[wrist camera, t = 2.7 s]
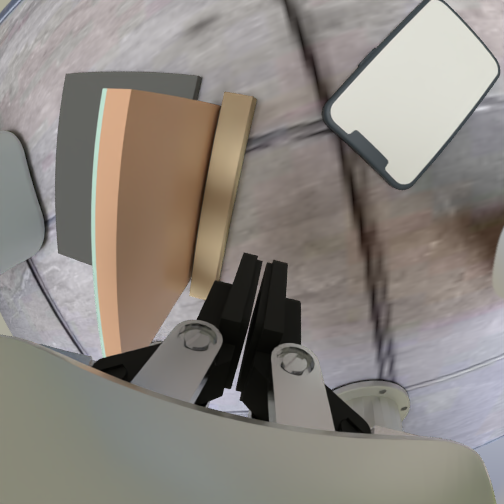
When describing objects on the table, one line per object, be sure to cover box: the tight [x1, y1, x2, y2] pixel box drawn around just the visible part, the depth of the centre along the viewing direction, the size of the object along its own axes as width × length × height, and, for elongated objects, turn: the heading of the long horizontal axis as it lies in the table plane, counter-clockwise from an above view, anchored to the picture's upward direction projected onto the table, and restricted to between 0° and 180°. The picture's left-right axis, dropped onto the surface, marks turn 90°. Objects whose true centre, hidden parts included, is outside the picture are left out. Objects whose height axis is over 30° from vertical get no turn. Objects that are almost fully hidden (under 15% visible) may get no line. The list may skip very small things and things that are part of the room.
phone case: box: [322, 0, 500, 190], centre depth 17 cm, size 9×2×16 cm
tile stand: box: [189, 92, 257, 300], centre depth 22 cm, size 16×3×2 cm, turn 168°
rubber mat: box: [55, 72, 202, 265], centre depth 23 cm, size 18×13×1 cm
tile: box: [91, 88, 220, 358], centre depth 16 cm, size 1×14×12 cm, turn 168°
